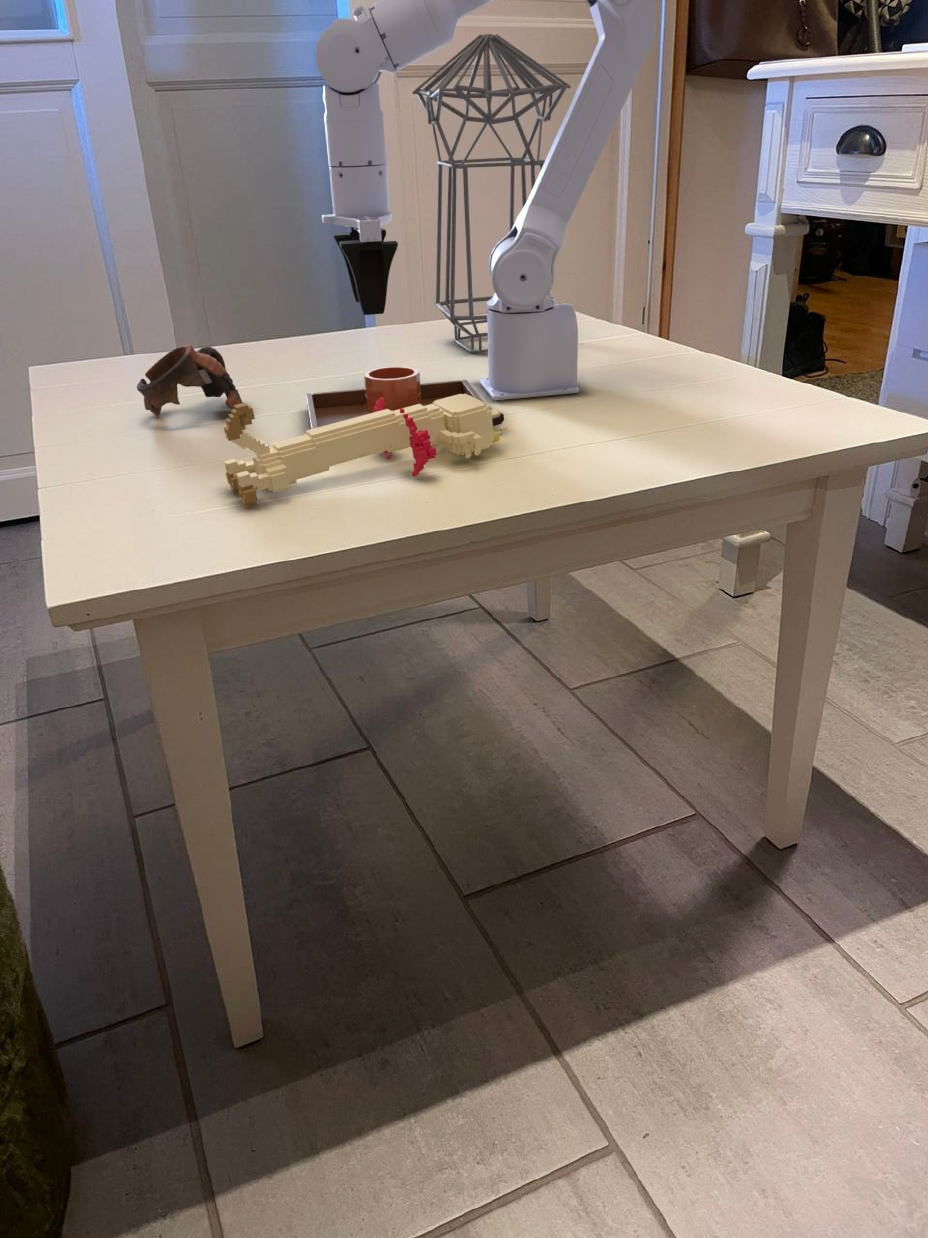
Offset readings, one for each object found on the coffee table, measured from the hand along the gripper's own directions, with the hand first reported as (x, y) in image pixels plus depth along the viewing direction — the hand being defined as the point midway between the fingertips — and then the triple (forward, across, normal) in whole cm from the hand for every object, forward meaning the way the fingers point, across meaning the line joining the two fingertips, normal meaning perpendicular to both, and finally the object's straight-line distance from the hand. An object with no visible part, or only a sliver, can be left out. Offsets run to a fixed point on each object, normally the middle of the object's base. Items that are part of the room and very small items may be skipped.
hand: (369, 307), depth 99 cm
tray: (+9, +11, +1) cm, 14 cm away
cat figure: (+10, +25, -3) cm, 27 cm away
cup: (+9, +11, +1) cm, 14 cm away
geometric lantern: (+10, -20, +18) cm, 29 cm away
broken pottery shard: (+10, +1, -19) cm, 21 cm away
